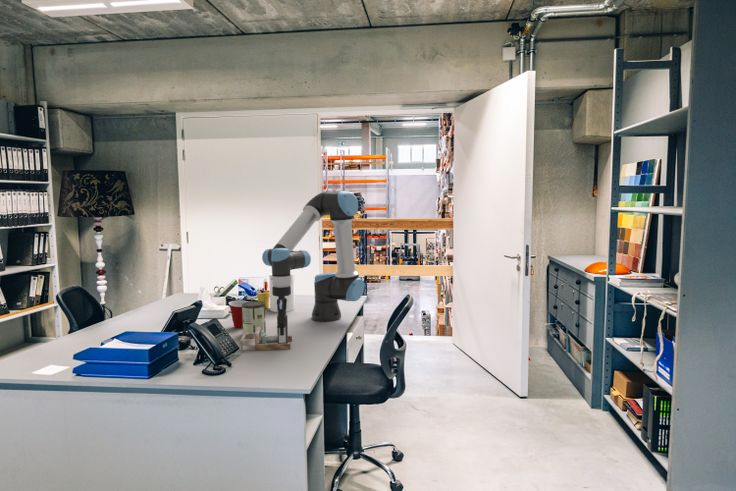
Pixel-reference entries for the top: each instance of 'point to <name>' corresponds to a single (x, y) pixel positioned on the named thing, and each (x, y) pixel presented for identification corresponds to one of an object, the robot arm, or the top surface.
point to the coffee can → (253, 316)
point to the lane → (253, 344)
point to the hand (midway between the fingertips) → (282, 340)
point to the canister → (290, 298)
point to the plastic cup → (237, 313)
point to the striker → (277, 333)
